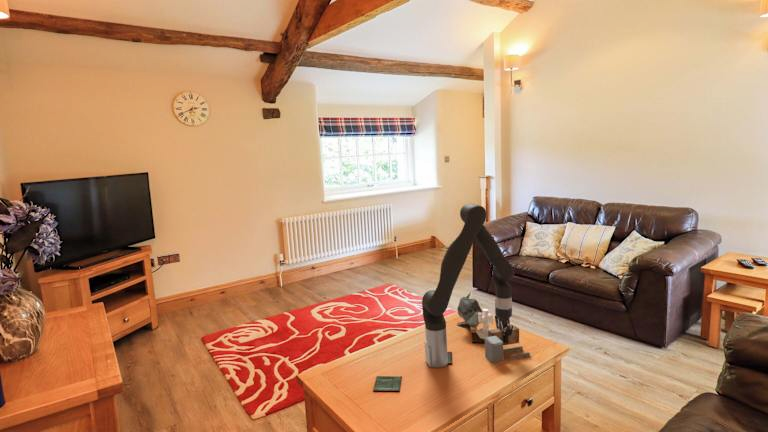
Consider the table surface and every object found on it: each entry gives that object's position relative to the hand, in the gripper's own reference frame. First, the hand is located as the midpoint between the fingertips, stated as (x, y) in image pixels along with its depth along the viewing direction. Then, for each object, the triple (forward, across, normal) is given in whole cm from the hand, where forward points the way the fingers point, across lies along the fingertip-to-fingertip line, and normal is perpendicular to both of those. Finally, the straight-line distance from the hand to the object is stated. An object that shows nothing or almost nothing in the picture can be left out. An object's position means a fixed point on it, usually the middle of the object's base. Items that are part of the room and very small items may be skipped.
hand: (503, 340), depth 200 cm
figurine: (+4, -14, -2) cm, 14 cm away
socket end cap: (+4, +6, -8) cm, 11 cm away
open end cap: (+4, +6, +3) cm, 8 cm away
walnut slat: (+1, 0, 0) cm, 1 cm away
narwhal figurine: (+5, -26, -5) cm, 26 cm away
